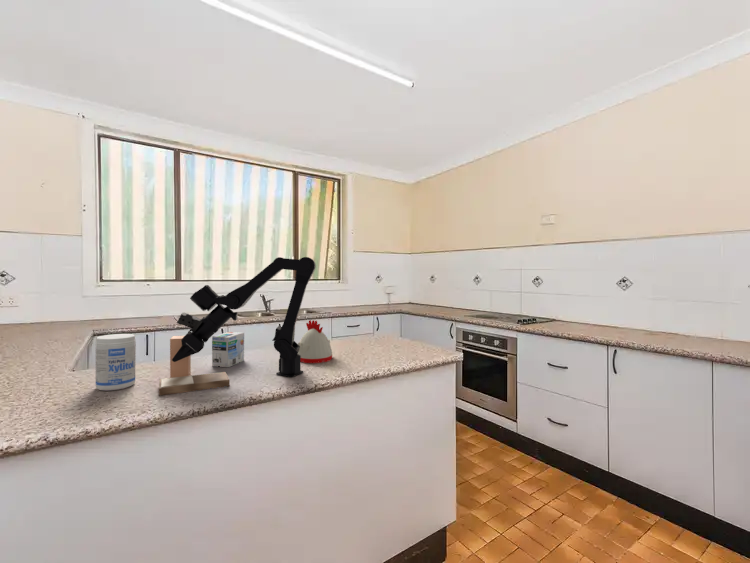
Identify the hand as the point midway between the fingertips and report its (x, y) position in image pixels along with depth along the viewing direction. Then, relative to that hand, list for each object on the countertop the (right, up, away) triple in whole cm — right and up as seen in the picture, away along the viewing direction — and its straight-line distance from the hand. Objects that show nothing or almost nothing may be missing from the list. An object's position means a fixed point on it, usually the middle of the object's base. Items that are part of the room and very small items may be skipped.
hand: (175, 357), depth 115 cm
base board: (+9, -7, -7) cm, 14 cm away
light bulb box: (+9, -6, +19) cm, 22 cm away
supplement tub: (-13, -7, -8) cm, 17 cm away
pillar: (+1, -7, +1) cm, 7 cm away
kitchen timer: (+39, -6, +28) cm, 48 cm away
